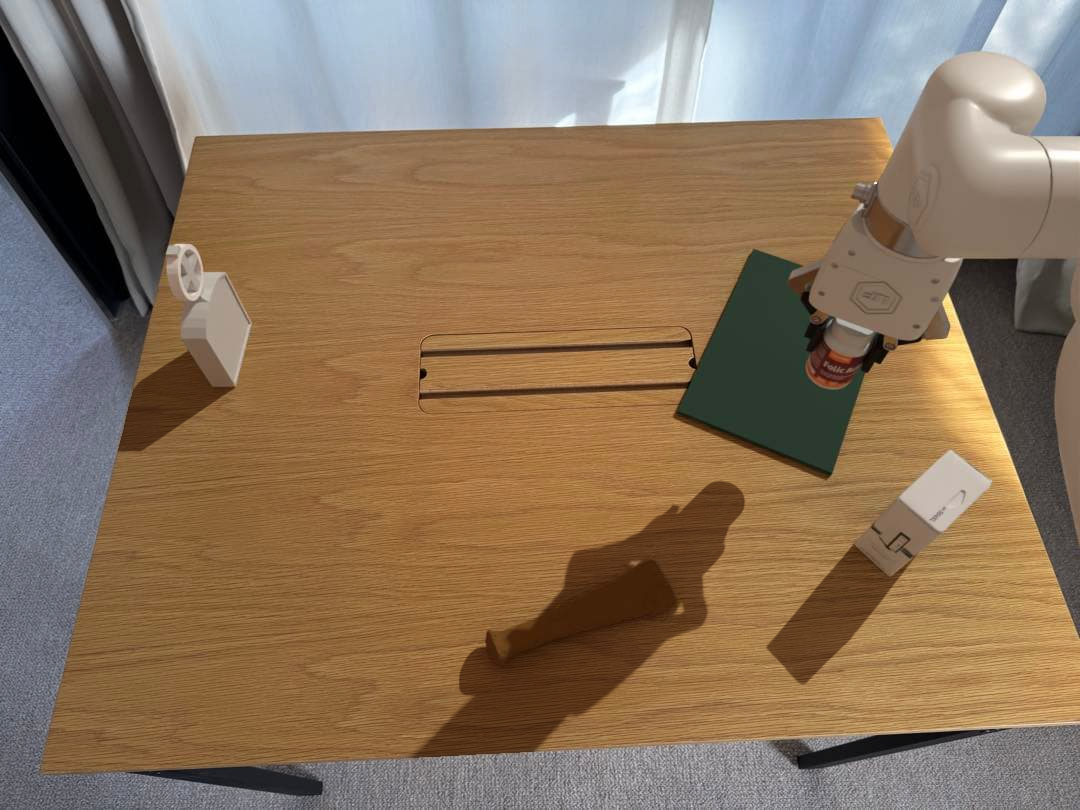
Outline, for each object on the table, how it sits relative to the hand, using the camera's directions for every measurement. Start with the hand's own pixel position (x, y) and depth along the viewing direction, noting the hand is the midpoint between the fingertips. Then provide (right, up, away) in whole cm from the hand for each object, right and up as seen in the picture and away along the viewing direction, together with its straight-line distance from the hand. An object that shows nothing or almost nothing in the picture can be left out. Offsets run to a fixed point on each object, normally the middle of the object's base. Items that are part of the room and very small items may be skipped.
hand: (840, 350), depth 76 cm
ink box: (+8, -19, +5) cm, 21 cm away
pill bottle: (0, -2, +3) cm, 4 cm away
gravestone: (-67, +1, +17) cm, 69 cm away
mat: (0, +1, +17) cm, 17 cm away
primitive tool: (-25, -26, +1) cm, 37 cm away
